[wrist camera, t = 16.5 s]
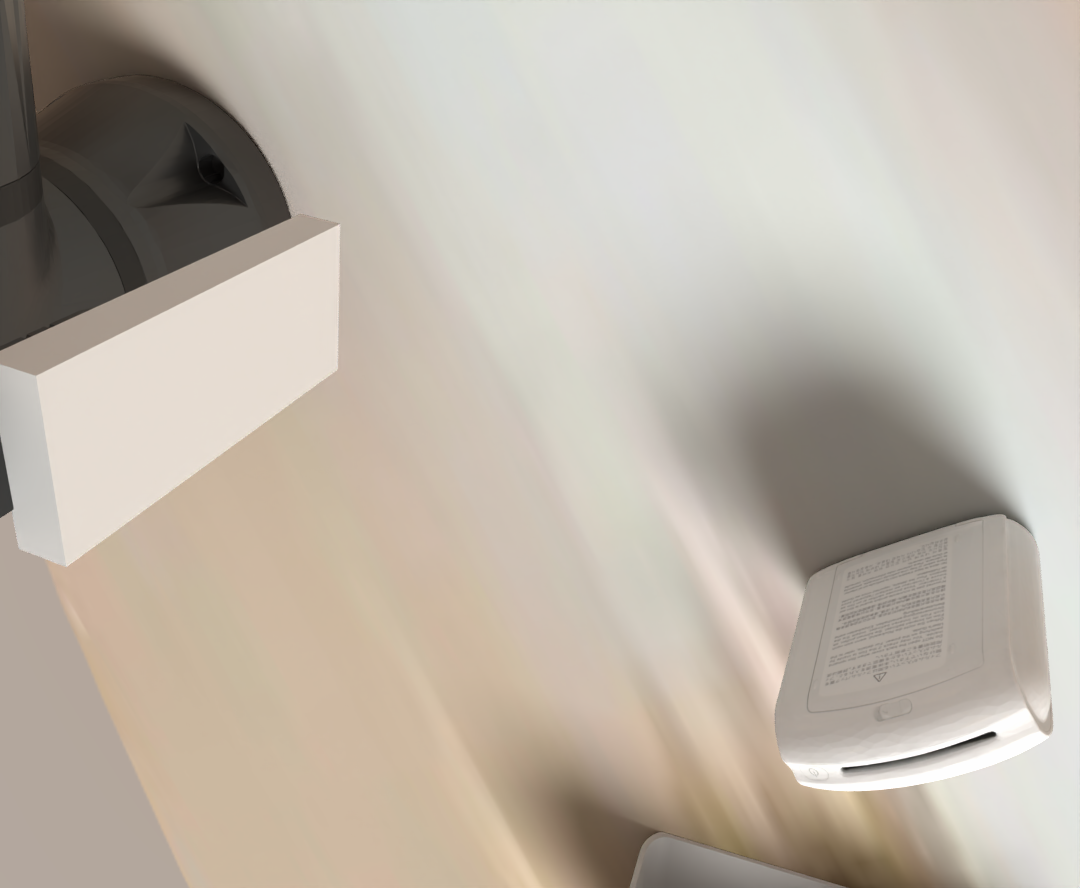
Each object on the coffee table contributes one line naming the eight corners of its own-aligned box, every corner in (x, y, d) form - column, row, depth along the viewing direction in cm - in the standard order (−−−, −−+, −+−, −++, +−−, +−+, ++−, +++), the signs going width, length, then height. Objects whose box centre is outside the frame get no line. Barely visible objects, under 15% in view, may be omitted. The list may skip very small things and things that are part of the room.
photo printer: (837, 639, 48) (802, 834, 38) (794, 569, 48) (746, 750, 37) (1056, 575, 43) (1083, 783, 33) (1012, 495, 42) (1026, 683, 32)
